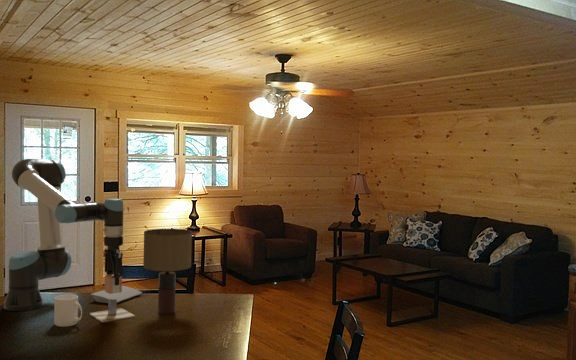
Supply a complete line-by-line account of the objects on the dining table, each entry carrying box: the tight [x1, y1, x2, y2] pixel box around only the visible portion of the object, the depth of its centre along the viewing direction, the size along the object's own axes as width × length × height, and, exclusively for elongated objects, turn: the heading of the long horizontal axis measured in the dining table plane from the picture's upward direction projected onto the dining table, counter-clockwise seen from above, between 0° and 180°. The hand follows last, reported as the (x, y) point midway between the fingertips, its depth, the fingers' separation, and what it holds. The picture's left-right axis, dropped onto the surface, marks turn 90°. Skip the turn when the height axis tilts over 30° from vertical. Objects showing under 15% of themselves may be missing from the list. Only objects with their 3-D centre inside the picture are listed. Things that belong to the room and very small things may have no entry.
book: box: [90, 285, 143, 304], centre depth 254 cm, size 15×23×4 cm, turn 160°
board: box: [89, 307, 136, 324], centre depth 225 cm, size 14×14×1 cm
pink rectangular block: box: [104, 274, 123, 294], centre depth 225 cm, size 5×5×7 cm
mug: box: [53, 293, 83, 328], centre depth 212 cm, size 9×12×11 cm
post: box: [107, 298, 118, 316], centre depth 225 cm, size 3×3×7 cm
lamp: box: [142, 228, 193, 315], centre depth 232 cm, size 20×20×35 cm
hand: (113, 291), depth 225 cm, fingers closed on pink rectangular block, 5 cm apart
